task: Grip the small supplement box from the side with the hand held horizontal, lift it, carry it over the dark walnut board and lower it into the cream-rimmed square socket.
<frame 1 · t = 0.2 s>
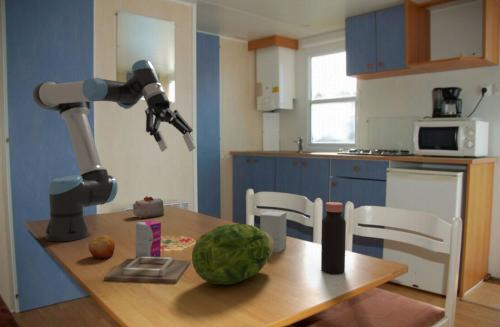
hand: (179, 149, 135), 35 cm above the table, tool tilted 35°, fingers open, 13 cm apart
supplement box: (148, 258, 127), on the table
food item: (148, 217, 192), on the table
fruit: (102, 257, 128), on the table
lettuce: (237, 279, 109), on the table
bottle: (332, 271, 116), on the table
socket board: (150, 271, 114), on the table
supplement box 2: (273, 249, 138), on the table
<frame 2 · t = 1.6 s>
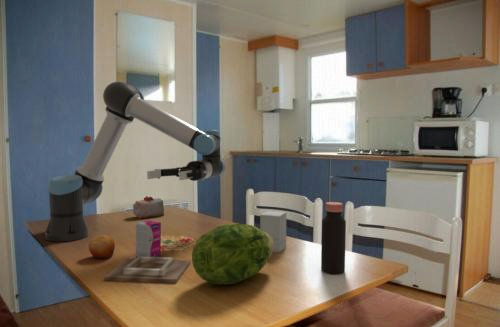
hand: (163, 175, 134), 26 cm above the table, tool horizontal, fingers open, 13 cm apart
nothing on the table moved.
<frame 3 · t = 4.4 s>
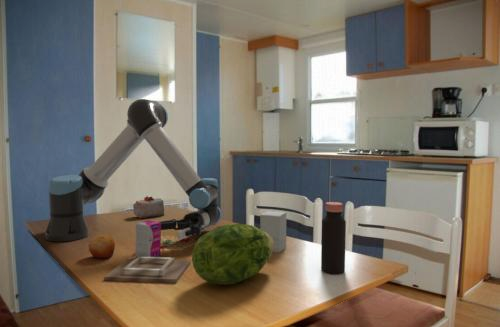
hand: (161, 233, 133), 6 cm above the table, tool horizontal, fingers open, 13 cm apart
nothing on the table moved.
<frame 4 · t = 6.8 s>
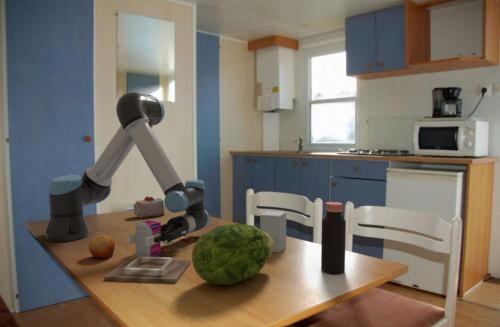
hand: (137, 241, 122), 7 cm above the table, tool horizontal, fingers closed on supplement box, 6 cm apart
supplement box: (148, 257, 127), on the table, touching gripper
everything else where it was.
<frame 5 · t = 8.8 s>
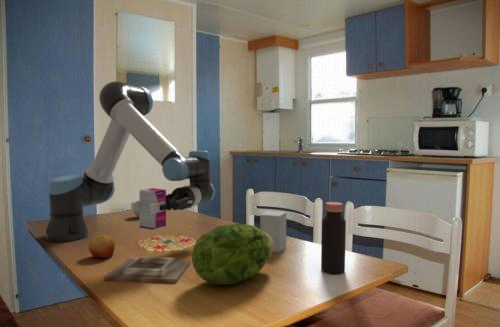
hand: (141, 208, 114), 18 cm above the table, tool horizontal, fingers closed on supplement box, 6 cm apart
supplement box: (153, 227, 119), point 12 cm above the table, touching gripper
everything else where it was.
when the fingers open (9 cm above the table, at t = 11.1 s): supplement box drops 2 cm, resting on socket board.
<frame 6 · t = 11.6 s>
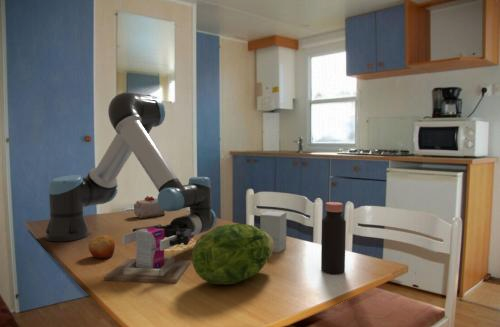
hand: (141, 242, 110), 9 cm above the table, tool horizontal, fingers open, 13 cm apart
supplement box: (150, 268, 114), point 1 cm above the table, touching socket board
everything else where it was.
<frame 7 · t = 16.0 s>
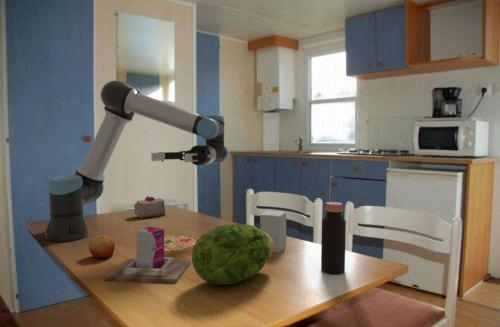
hand: (168, 157, 132), 32 cm above the table, tool horizontal, fingers open, 13 cm apart
nothing on the table moved.
at the end: supplement box 0.2 cm from the socket board (horizontally); supplement box tilted 0°; the gripper is holding nothing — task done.
